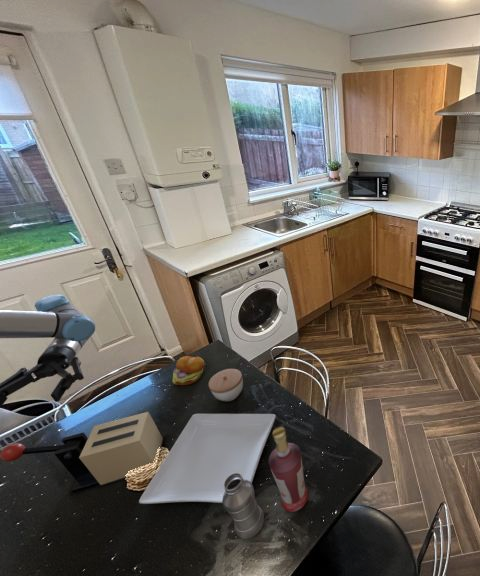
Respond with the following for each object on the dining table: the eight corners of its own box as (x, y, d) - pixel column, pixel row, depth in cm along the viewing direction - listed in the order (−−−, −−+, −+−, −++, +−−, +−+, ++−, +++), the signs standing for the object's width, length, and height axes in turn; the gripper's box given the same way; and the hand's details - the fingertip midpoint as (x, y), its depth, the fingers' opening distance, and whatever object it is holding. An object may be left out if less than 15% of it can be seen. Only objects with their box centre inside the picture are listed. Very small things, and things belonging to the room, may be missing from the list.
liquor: (313, 505, 81) (299, 437, 67) (285, 521, 78) (265, 453, 64) (304, 480, 87) (290, 413, 73) (278, 494, 83) (258, 426, 70)
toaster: (100, 486, 85) (77, 457, 79) (112, 453, 93) (93, 425, 87) (156, 468, 89) (139, 440, 83) (163, 438, 98) (148, 410, 91)
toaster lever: (-3, 466, 75) (-5, 454, 74) (7, 451, 78) (5, 440, 77) (76, 458, 82) (76, 447, 80) (82, 445, 85) (82, 434, 84)
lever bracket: (72, 493, 83) (45, 462, 77) (86, 462, 91) (62, 432, 84) (100, 484, 85) (76, 454, 79) (111, 455, 93) (90, 425, 86)
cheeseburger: (169, 377, 120) (168, 355, 117) (200, 369, 127) (200, 348, 124) (175, 392, 113) (174, 369, 110) (207, 383, 121) (207, 361, 117)
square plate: (247, 510, 80) (244, 502, 78) (141, 510, 80) (135, 502, 78) (278, 420, 104) (276, 412, 102) (196, 420, 103) (192, 412, 101)
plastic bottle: (271, 521, 78) (255, 475, 68) (248, 549, 73) (228, 504, 63) (254, 506, 81) (237, 460, 71) (231, 532, 76) (209, 486, 66)
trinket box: (211, 409, 107) (203, 390, 103) (217, 386, 116) (210, 368, 112) (244, 403, 110) (238, 384, 105) (247, 381, 119) (242, 362, 114)
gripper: (112, 354, 105) (87, 401, 88) (15, 374, 97) (-34, 430, 80) (102, 336, 101) (74, 382, 84) (0, 356, 93) (-54, 411, 76)
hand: (21, 406), depth 82 cm, fingers open, 13 cm apart
